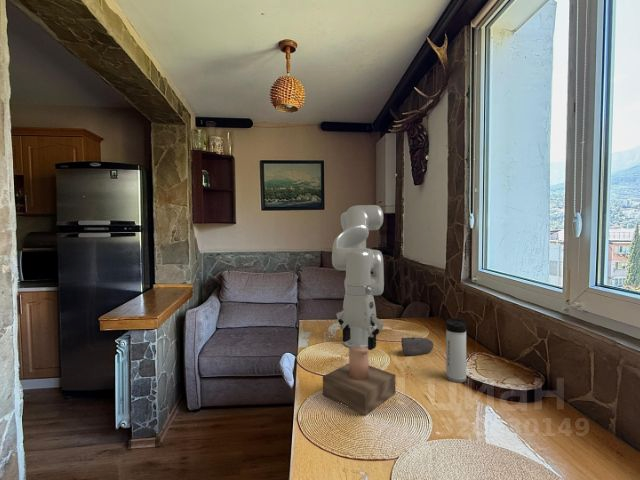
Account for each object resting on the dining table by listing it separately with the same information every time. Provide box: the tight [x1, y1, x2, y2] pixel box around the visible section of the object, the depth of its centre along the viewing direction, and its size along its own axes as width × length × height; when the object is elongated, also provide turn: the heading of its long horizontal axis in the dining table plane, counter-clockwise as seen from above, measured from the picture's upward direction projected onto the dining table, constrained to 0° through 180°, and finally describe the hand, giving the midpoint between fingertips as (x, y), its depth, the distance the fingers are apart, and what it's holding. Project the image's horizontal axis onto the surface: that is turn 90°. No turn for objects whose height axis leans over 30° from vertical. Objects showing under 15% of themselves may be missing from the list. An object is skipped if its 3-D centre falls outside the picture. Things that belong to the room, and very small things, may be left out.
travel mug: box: [445, 317, 467, 384], centre depth 106 cm, size 6×7×20 cm
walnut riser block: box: [322, 362, 397, 417], centre depth 97 cm, size 16×16×6 cm
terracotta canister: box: [348, 346, 370, 380], centre depth 96 cm, size 6×6×8 cm
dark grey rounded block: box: [400, 337, 434, 356], centre depth 128 cm, size 15×5×7 cm, turn 100°
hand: (358, 344), depth 97 cm, fingers open, 9 cm apart
